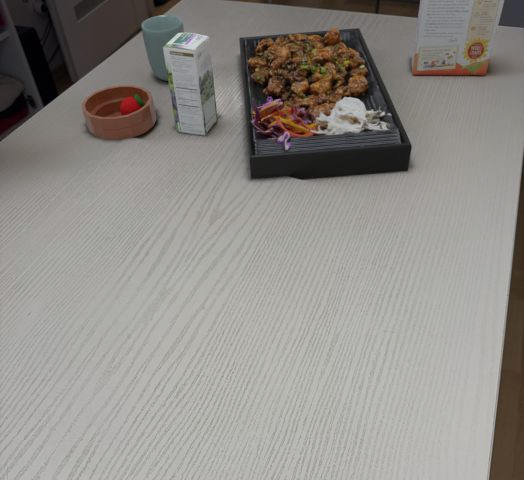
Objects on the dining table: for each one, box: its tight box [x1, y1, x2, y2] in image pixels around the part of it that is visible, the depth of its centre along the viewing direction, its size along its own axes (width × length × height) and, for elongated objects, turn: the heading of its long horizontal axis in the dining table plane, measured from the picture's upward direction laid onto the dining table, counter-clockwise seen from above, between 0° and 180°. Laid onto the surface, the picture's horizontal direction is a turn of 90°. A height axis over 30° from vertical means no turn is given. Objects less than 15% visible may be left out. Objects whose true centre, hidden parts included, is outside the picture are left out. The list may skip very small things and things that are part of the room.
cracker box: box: [410, 0, 505, 76], centre depth 98 cm, size 14×6×21 cm, turn 82°
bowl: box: [81, 84, 157, 140], centre depth 97 cm, size 12×12×4 cm
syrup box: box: [163, 32, 218, 136], centre depth 92 cm, size 6×6×14 cm
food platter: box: [239, 27, 413, 180], centre depth 95 cm, size 45×25×10 cm, turn 4°
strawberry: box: [120, 94, 146, 116], centre depth 97 cm, size 4×4×4 cm
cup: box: [140, 14, 185, 82], centre depth 107 cm, size 8×8×10 cm
